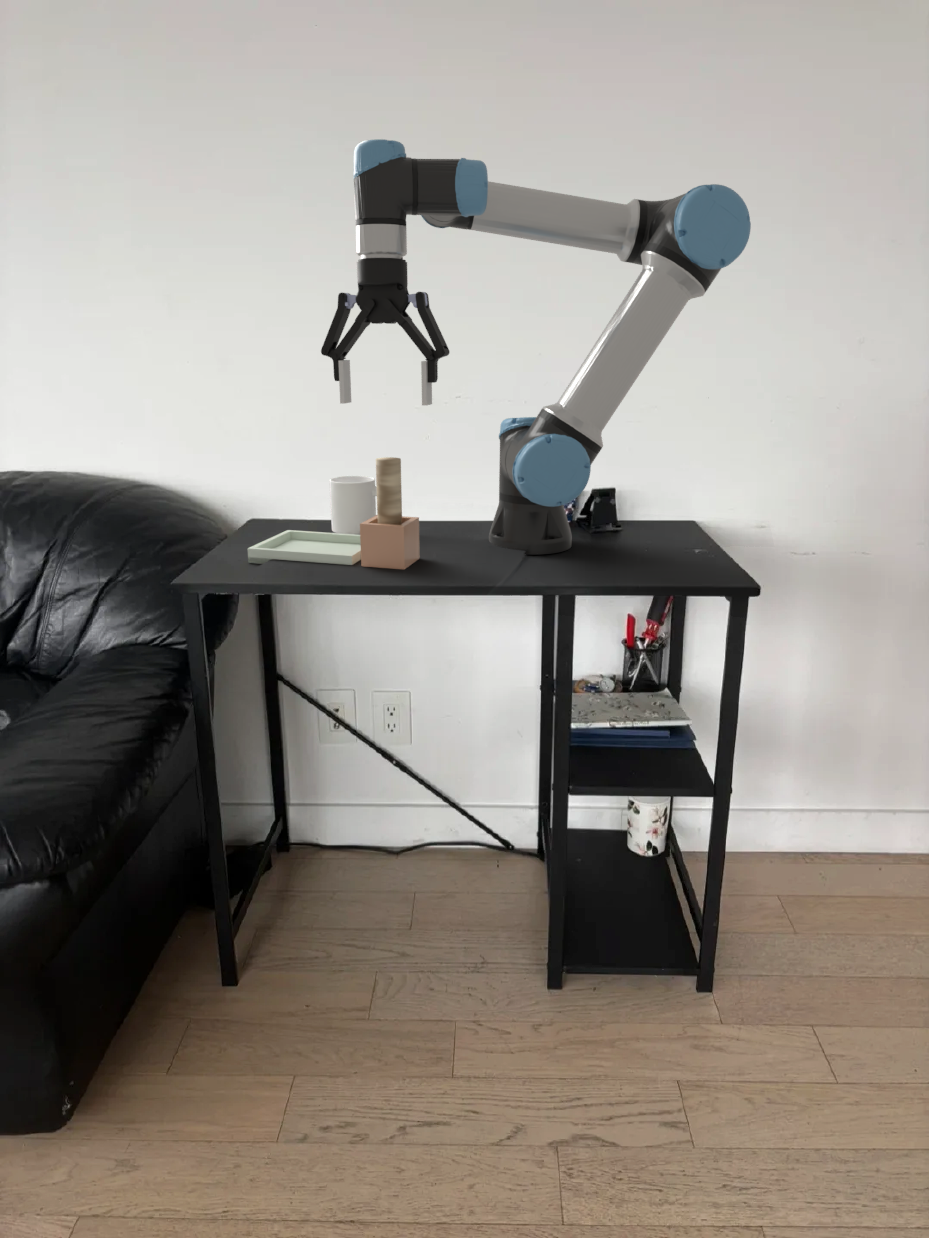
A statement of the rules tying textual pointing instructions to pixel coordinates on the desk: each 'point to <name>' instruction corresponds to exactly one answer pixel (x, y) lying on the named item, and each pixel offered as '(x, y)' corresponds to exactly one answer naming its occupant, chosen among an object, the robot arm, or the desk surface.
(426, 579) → the desk surface
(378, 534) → the planter
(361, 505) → the mug
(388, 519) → the dowel
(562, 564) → the desk surface
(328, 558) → the tray
